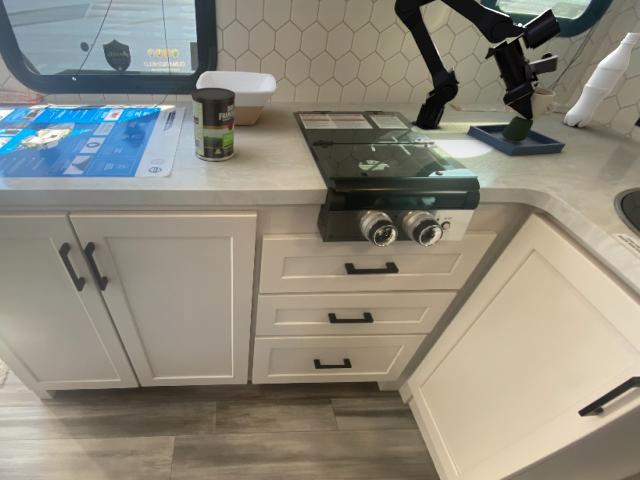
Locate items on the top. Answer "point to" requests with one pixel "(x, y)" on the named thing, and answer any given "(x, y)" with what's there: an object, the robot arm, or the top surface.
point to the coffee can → (213, 123)
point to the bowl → (242, 91)
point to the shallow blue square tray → (530, 145)
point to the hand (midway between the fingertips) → (532, 116)
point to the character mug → (540, 102)
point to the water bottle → (601, 82)
